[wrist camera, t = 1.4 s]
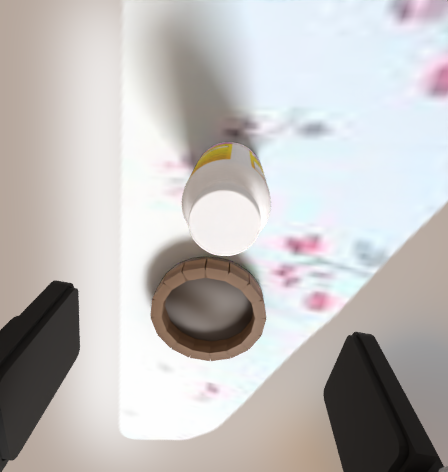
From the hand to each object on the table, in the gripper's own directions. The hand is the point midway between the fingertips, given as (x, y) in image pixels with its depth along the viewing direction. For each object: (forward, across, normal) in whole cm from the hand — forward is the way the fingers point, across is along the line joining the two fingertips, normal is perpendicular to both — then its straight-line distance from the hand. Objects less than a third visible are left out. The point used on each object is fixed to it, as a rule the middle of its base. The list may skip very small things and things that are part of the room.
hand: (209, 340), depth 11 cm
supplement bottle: (+23, 0, 0) cm, 23 cm away
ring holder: (+23, 0, +16) cm, 28 cm away
